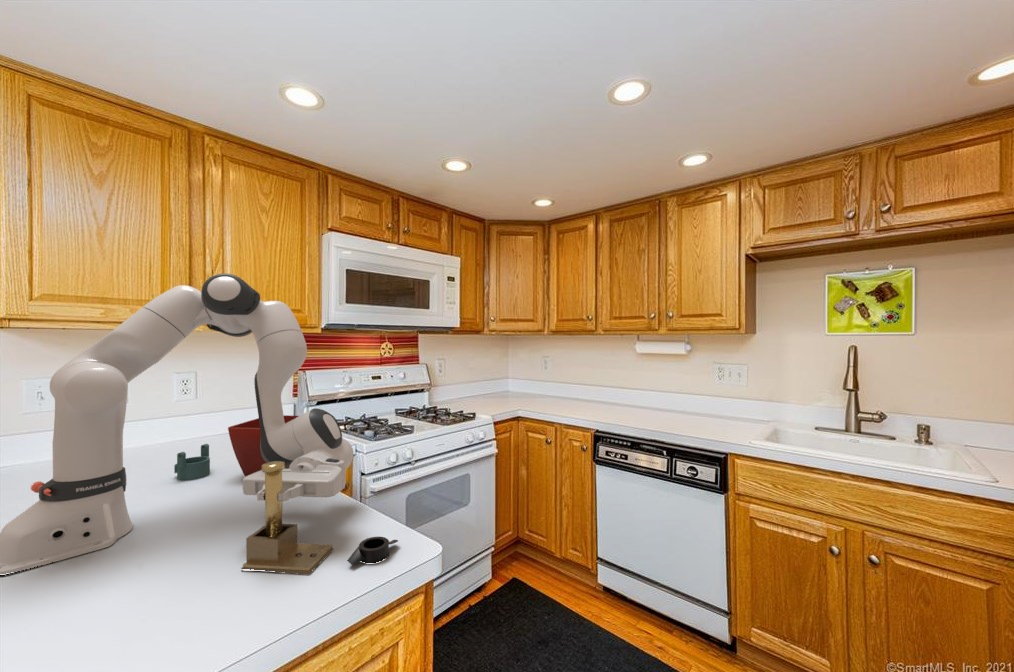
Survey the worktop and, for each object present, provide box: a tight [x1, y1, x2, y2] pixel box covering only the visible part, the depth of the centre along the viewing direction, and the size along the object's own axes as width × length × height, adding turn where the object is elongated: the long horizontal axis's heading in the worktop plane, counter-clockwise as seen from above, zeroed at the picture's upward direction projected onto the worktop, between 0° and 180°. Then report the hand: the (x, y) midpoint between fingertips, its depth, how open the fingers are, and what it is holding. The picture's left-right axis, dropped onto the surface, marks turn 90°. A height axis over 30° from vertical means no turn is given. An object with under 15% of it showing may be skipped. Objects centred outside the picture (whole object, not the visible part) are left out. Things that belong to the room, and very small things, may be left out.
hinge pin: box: [262, 461, 285, 537], centre depth 84 cm, size 4×4×14 cm
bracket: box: [174, 443, 211, 482], centre depth 133 cm, size 9×9×9 cm
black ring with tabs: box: [347, 536, 399, 566], centre depth 86 cm, size 8×10×3 cm
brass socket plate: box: [240, 523, 334, 575], centre depth 84 cm, size 9×14×6 cm, turn 85°
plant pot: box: [227, 414, 299, 478], centre depth 136 cm, size 19×19×17 cm
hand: (270, 497), depth 84 cm, fingers closed on hinge pin, 3 cm apart
